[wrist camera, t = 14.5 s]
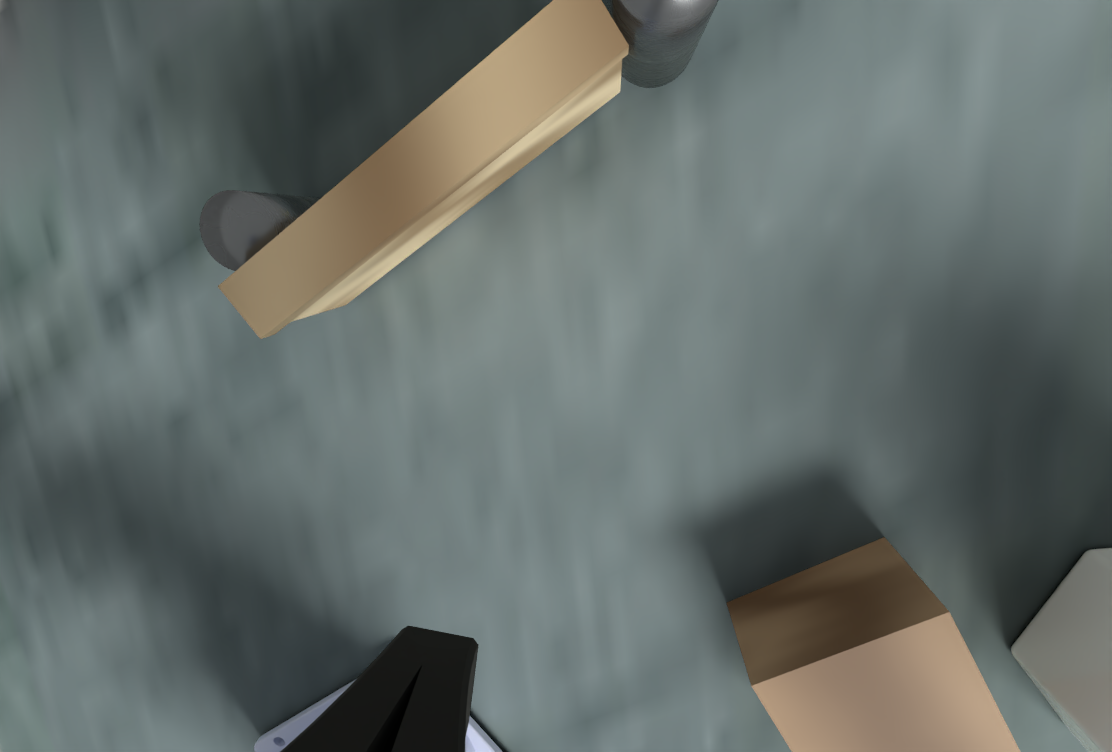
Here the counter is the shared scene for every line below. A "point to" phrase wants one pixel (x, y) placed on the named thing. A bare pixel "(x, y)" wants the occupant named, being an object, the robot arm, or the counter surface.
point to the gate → (436, 166)
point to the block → (865, 661)
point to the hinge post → (659, 36)
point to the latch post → (246, 223)
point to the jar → (1075, 650)
